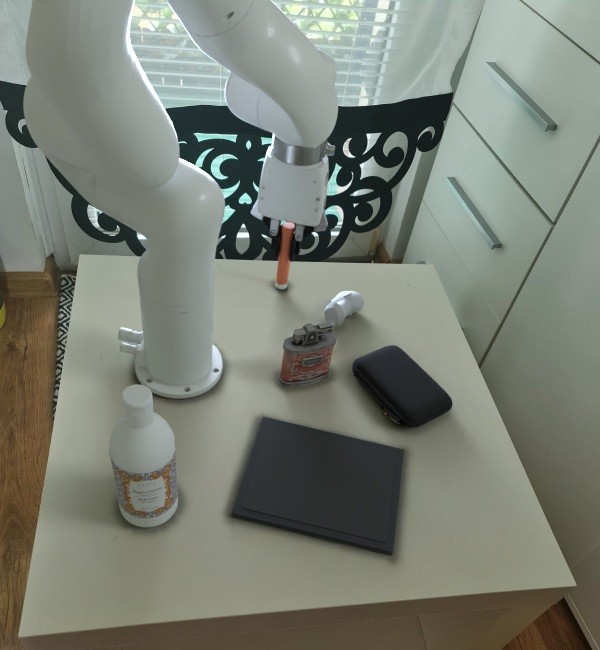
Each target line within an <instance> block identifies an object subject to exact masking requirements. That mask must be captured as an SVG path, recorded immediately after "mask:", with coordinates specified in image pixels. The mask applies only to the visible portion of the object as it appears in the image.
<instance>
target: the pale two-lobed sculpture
mask: <svg viewBox="0 0 600 650" xmlns="http://www.w3.org/2000/svg"><path fill="white" fill-rule="evenodd" d="M364 305H365V299H364V296H363V295H362V294H361V293H360V292H359V291H356V290H343V291H340V292H339V293H338V294H336V295H335V297H333V298H332V299H331V300H330V303H328V304H327V305H326V306H325V308H324V312H323V313H324V314H323V316H324V319H325V321H326V323H327V322H332V323H333V324H334V325H335V327H340V326H342V325H343V323H344V321H345V318H346V317H351V316H352V315H353V314H354V313H357V312H359V311H360V310H362V308H363V307H364Z"/></svg>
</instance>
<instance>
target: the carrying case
mask: <svg viewBox="0 0 600 650" xmlns="http://www.w3.org/2000/svg"><path fill="white" fill-rule="evenodd" d="M351 371H352V374H353V376H354V377H355V378H356V380H358V381H359V383H360V384H361V385H362V386H363V387H364V388H365V389H366V390H367V391H368V393H370V394H371V395H372V396H373V398H374V399H375V400H376V401H377V402H378V403H379V404H380V405H381V406H382V407H383V408H384V409H382V414H383V416H385V417H386V418H387V419H389V420H391V421H393V422H394V423H396V424H397V425H401V426H403V427H406V428H409V429H416V428H417V429H418V428H420V427H422V426H423V425H425V424H427V423H430V422H431V421H434V420H435V419H437V418H439V417H441V416H443V415H445V414H446V413H449V412H450V411H451V410H452V408H453V399H452V397H451V396H450V394H449V393H448V392H447V391H446V390H445V389H444V388H443V386H441V385H440V384H439V383H438V382H437V381H436V380H435V379H434V378H433V377H432V376H431V375H429V373H428V372H427V371H426V370H425V369H423V367H422V366H420V365H419V364H418V363H417V362H416V361H415V360H414V359H413V358H412V357H411V356H410V355H409V354H408V353H407V352H405V350H403V348H401V347H400V346H398V345H395V344H391V345H386V346H383V347H380V348H379V349H376V350H374V351H371V352H369V353H366V354H364V355H362V356H360V357H357V358H356V359H354V361H353V362H352V365H351Z"/></svg>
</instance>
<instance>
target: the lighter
mask: <svg viewBox="0 0 600 650" xmlns="http://www.w3.org/2000/svg"><path fill="white" fill-rule="evenodd" d="M335 328H336V326H335V325H334V324H333V323H332V322H327V321H326V322H323V323H318V324H314V325H313V323H311V322H309V323H305V324H304V325H303V326H302V327H299V328H295V329H293V332H292V336H289V337H287V338H285V339H284V341H283V345H282V347H283V355H282V360H281V368H280V372H279V375H278V383H279V384H280V385H281V386H283V387H285V388H291V387H292V388H293V387H294V388H295V387H302V386H308V385H311V384H312V385H313V384H315V383H318V382H320V381H323V380H325V379H327V378H328V377H329V376H330V371H331V369H330V367H331V362H332V356H333V354H334V348H335V345H336V344H337V341H338V336H337V334H336V333H335Z"/></svg>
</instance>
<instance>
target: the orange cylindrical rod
mask: <svg viewBox="0 0 600 650" xmlns="http://www.w3.org/2000/svg"><path fill="white" fill-rule="evenodd" d="M281 226H282V232H281V241H280V250H279V256H278V257H277V258H278V259H277V268H276V275H275V277H276V278H275V285H274V286H275V287H276V289H279V290H286V289H287V287H288V283H289V282H288V280H289V274H290V267H291V261H290V260H289V254H290V246H291V240H292V238H293V236H294V232H295V230H296V225H295V223H292V222H288V221H284V222H283V223H281Z"/></svg>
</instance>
